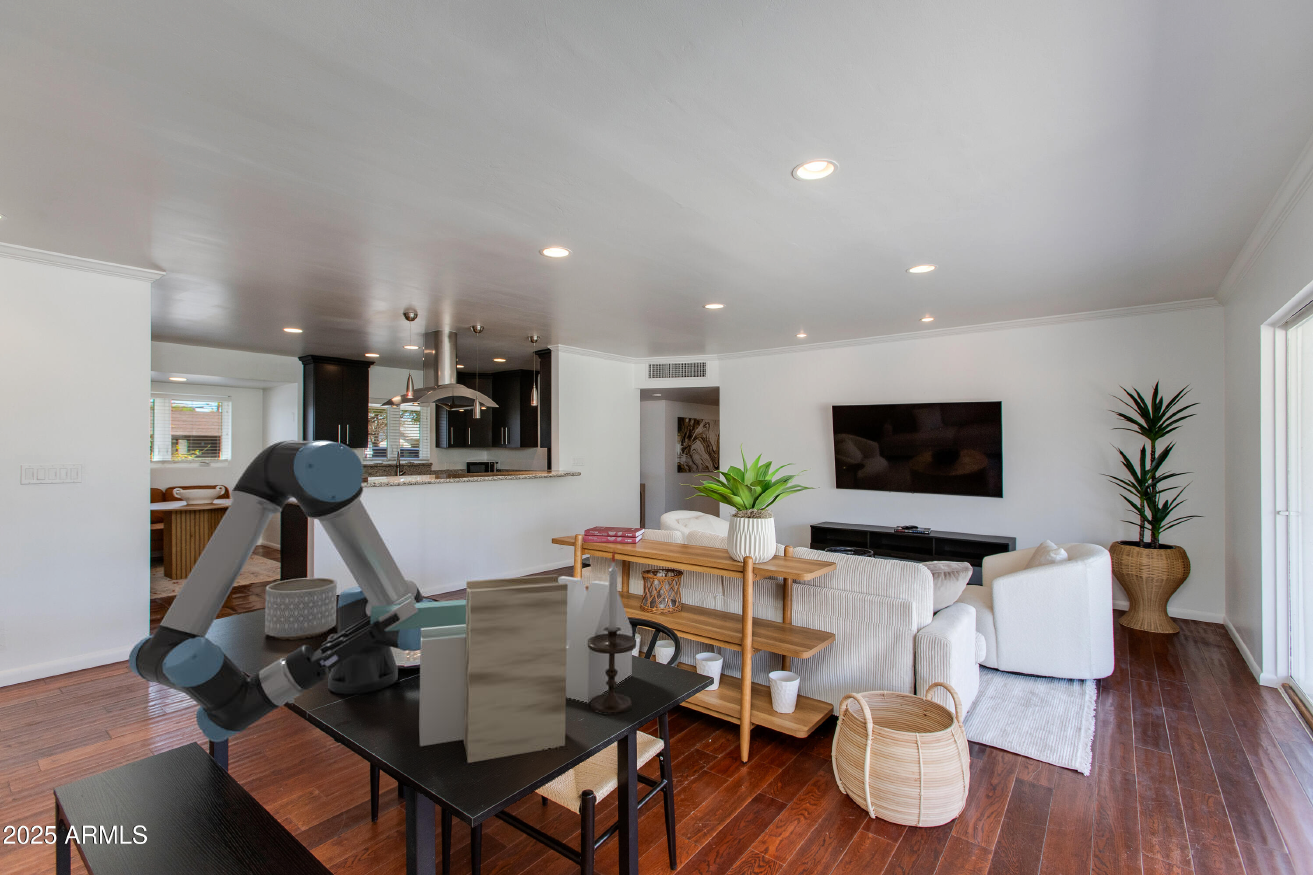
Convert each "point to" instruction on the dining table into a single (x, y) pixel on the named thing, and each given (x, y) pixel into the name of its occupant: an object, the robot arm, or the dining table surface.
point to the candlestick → (611, 652)
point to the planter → (300, 607)
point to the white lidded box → (442, 684)
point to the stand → (515, 666)
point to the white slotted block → (582, 624)
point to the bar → (426, 615)
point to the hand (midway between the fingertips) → (414, 602)
